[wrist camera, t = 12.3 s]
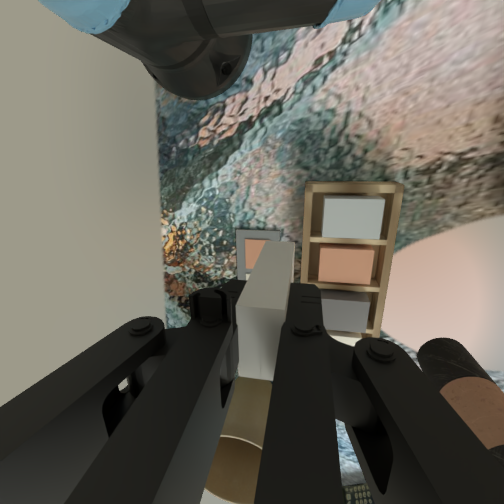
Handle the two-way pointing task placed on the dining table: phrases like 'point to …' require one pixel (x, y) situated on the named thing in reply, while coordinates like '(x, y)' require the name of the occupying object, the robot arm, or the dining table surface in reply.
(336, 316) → the grey rectangular block
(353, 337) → the cream rectangular block
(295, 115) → the dining table surface
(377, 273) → the wooden compartment tray
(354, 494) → the mobile phone
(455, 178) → the dining table surface
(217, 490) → the plant pot
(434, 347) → the travel mug
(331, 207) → the key bluegrey
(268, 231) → the card
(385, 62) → the dining table surface
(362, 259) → the key terracotta
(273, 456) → the robot arm
